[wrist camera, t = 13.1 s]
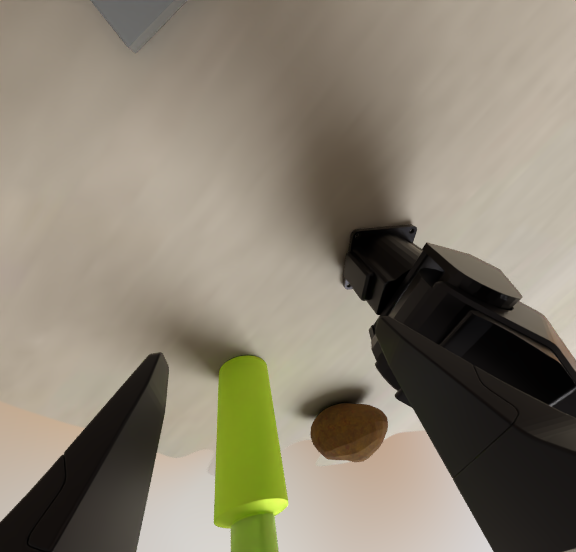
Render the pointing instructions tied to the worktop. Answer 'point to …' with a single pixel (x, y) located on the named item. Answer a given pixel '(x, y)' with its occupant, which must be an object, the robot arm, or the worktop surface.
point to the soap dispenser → (248, 457)
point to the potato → (349, 431)
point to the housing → (137, 18)
